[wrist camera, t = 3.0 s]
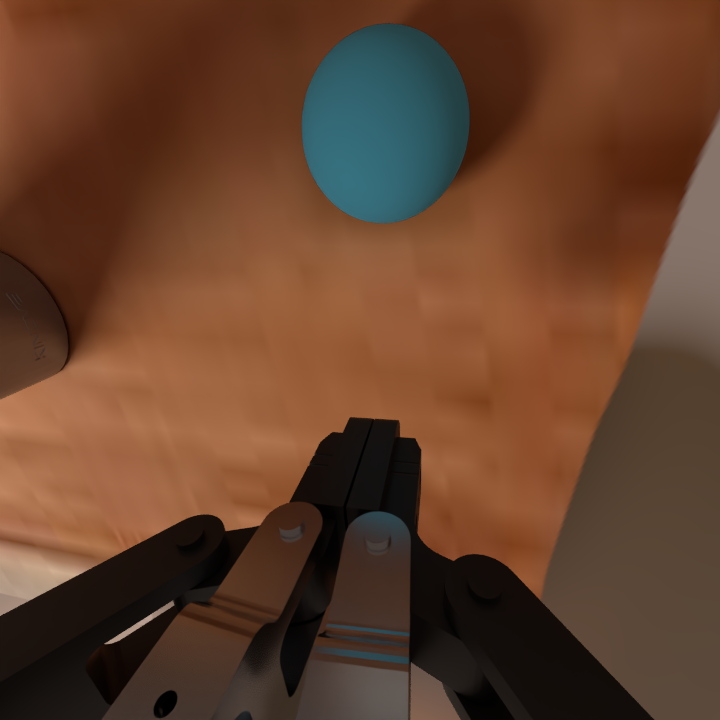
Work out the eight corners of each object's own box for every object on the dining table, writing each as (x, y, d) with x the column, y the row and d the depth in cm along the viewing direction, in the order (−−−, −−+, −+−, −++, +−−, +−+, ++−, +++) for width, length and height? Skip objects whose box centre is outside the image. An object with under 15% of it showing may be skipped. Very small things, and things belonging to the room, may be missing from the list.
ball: (333, 222, 18) (287, 231, 12) (322, 72, 15) (259, -1, 10) (459, 217, 16) (470, 223, 11) (468, 53, 14) (488, -43, 9)
